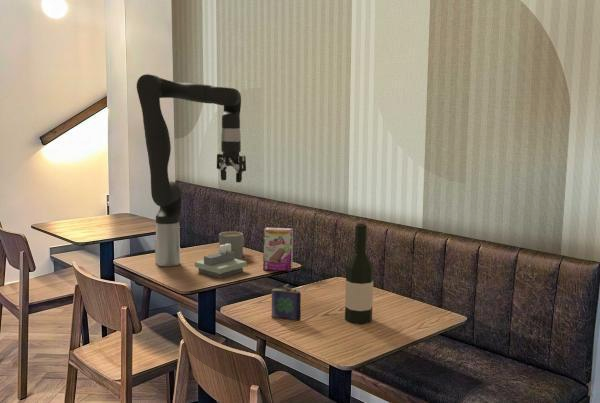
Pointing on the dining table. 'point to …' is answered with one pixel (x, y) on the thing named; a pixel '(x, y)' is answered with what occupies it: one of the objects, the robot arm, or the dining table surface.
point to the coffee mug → (233, 242)
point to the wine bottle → (359, 281)
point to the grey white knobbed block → (220, 256)
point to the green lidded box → (221, 268)
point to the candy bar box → (278, 249)
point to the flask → (286, 304)
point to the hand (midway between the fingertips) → (231, 181)
